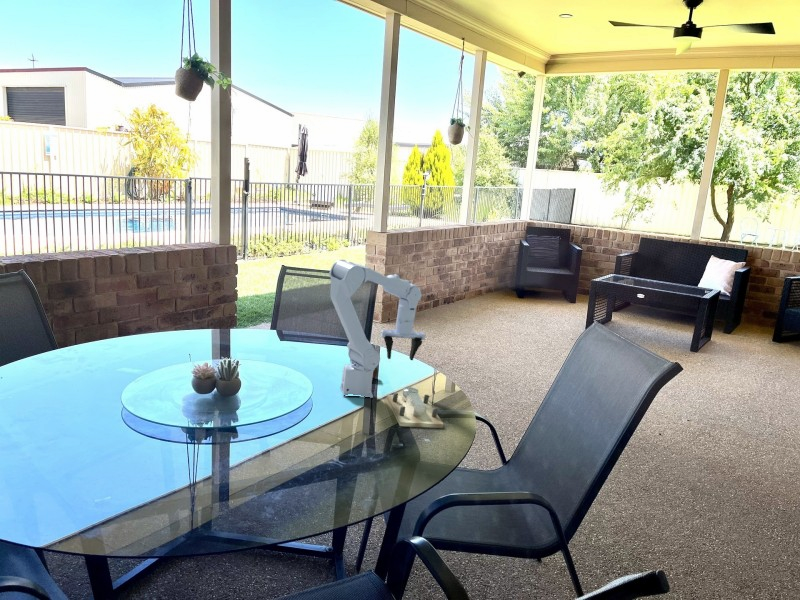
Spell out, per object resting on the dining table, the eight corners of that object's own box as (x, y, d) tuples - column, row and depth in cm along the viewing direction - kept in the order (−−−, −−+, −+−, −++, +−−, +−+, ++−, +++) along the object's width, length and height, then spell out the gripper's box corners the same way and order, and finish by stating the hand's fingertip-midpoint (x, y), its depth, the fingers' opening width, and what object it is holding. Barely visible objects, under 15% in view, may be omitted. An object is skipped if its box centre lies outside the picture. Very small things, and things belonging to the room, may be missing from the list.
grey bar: (410, 415, 171) (412, 404, 170) (400, 396, 184) (401, 386, 184) (425, 416, 172) (427, 405, 171) (414, 397, 185) (416, 387, 185)
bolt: (354, 368, 213) (371, 383, 200) (344, 362, 210) (360, 376, 197) (363, 355, 213) (380, 368, 200) (353, 349, 211) (370, 362, 198)
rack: (399, 426, 166) (401, 414, 165) (386, 398, 185) (388, 387, 184) (442, 427, 169) (445, 416, 168) (425, 400, 188) (427, 389, 187)
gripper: (386, 321, 184) (380, 361, 187) (429, 324, 187) (424, 364, 190) (382, 315, 191) (377, 354, 194) (424, 318, 194) (418, 356, 197)
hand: (400, 358), depth 192 cm, fingers open, 7 cm apart
